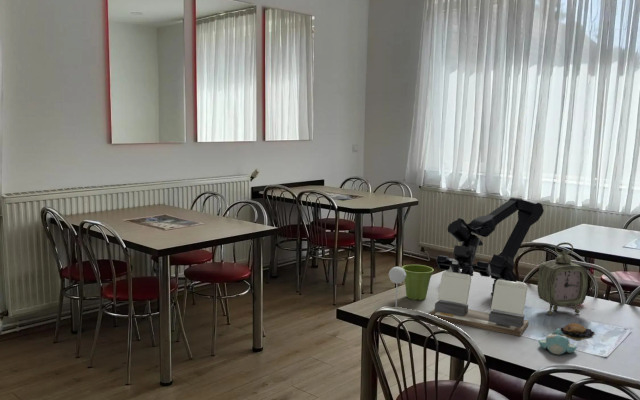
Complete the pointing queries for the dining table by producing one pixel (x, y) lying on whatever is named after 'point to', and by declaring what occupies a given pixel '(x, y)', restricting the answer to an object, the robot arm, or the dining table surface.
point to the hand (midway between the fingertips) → (456, 286)
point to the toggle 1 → (454, 287)
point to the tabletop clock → (562, 282)
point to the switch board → (480, 318)
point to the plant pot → (417, 281)
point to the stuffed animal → (557, 343)
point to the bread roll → (576, 331)
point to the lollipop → (397, 277)
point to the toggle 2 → (509, 297)
